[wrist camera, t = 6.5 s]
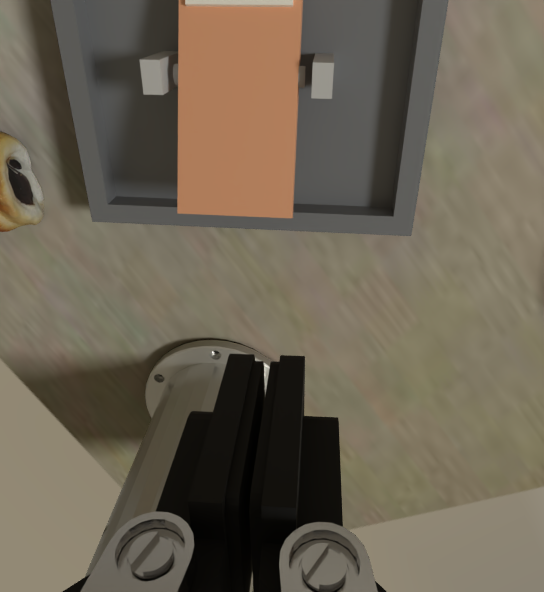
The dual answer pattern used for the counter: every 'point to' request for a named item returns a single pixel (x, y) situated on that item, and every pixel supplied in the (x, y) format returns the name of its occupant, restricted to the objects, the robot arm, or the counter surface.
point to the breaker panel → (310, 124)
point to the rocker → (238, 106)
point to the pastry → (17, 186)
